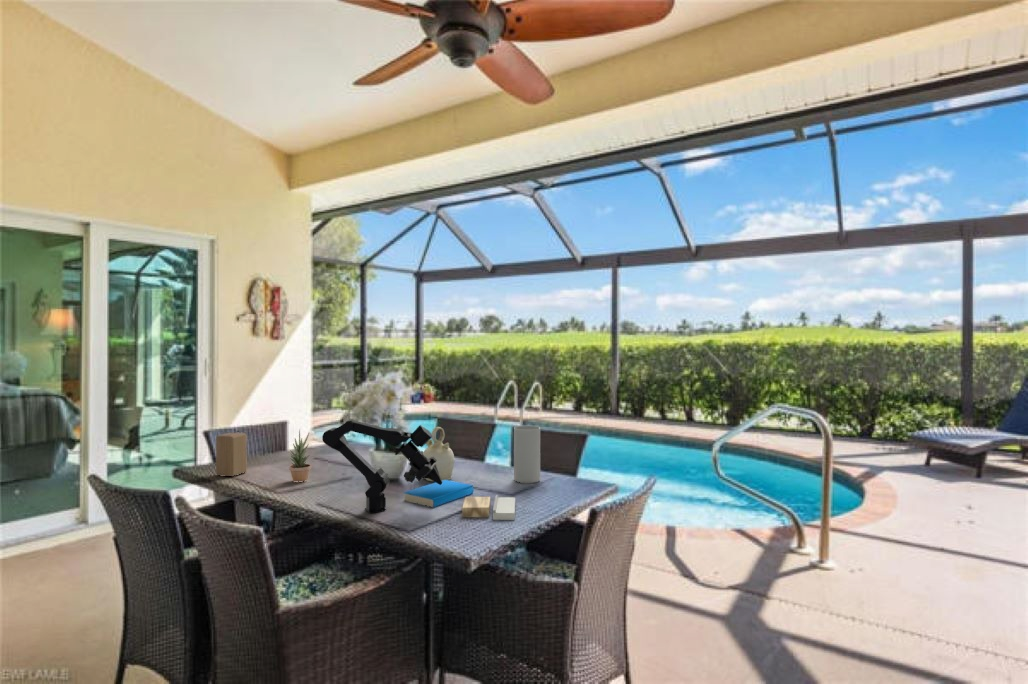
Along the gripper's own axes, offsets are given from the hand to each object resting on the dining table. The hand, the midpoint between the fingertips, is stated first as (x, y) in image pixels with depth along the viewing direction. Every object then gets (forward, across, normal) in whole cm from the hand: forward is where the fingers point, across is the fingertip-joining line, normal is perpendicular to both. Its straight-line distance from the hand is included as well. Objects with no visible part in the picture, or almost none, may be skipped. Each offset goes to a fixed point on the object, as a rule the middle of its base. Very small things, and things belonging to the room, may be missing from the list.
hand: (441, 483), depth 214 cm
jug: (+2, -49, -12) cm, 51 cm away
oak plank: (+13, 0, 0) cm, 13 cm away
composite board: (+25, +1, +10) cm, 27 cm away
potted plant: (-43, -45, -59) cm, 86 cm away
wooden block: (-70, -57, -86) cm, 125 cm away
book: (+6, -19, -10) cm, 22 cm away
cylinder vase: (+31, -46, +18) cm, 59 cm away
